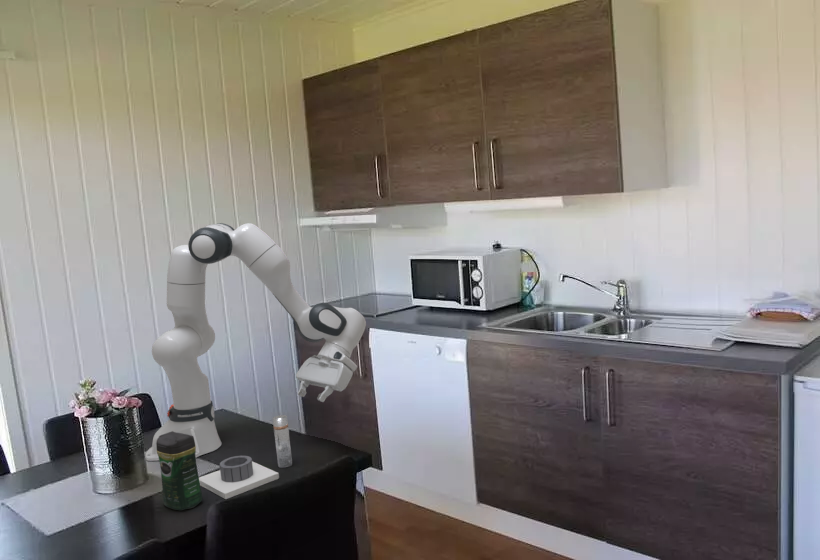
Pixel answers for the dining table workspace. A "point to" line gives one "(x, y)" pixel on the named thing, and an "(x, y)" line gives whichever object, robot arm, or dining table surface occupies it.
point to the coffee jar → (179, 470)
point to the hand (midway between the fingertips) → (310, 398)
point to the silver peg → (282, 441)
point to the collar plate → (237, 486)
